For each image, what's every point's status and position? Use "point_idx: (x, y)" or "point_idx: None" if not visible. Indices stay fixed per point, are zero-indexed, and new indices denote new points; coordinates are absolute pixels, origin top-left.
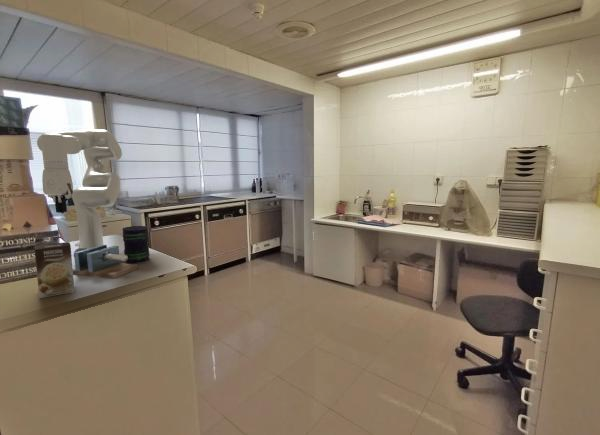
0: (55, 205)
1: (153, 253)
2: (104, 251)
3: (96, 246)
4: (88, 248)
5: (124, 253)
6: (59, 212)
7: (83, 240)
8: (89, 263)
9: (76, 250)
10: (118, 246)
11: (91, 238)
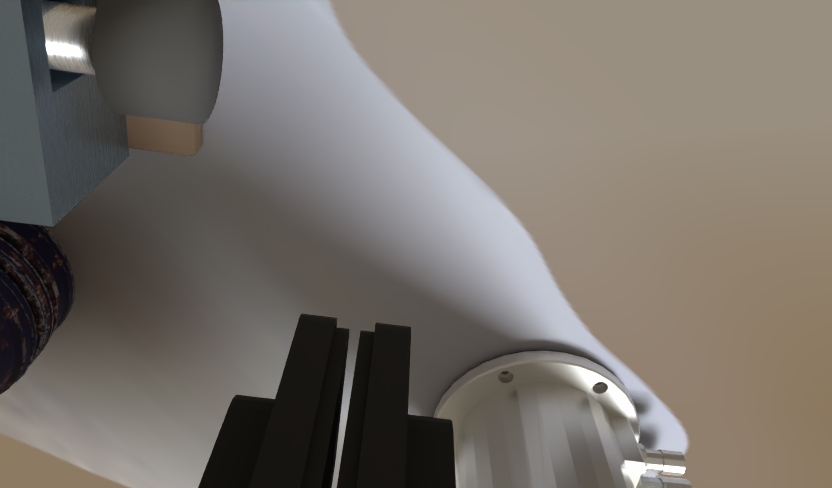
0: (395, 469)
1: (33, 428)
2: None
3: (33, 145)
4: (28, 50)
5: (20, 275)
6: (305, 316)
7: (558, 453)
8: None
9: (169, 21)
10: None
11: (495, 482)
